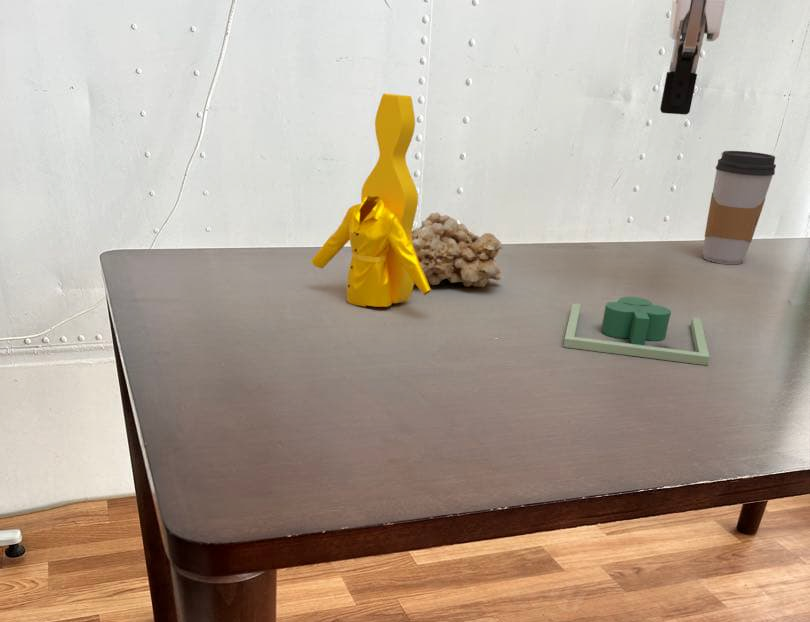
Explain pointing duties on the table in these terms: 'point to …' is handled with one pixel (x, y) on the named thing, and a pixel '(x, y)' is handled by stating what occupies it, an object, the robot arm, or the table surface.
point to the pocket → (639, 350)
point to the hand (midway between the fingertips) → (674, 112)
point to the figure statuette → (383, 218)
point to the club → (635, 320)
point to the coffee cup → (736, 204)
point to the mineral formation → (455, 252)
